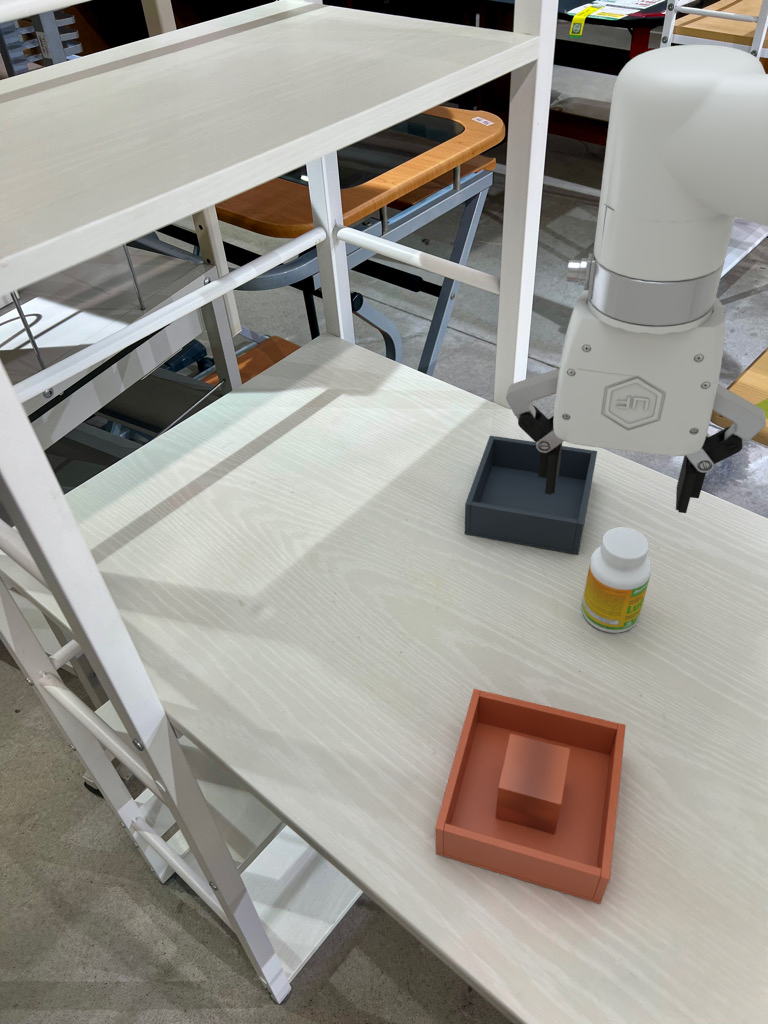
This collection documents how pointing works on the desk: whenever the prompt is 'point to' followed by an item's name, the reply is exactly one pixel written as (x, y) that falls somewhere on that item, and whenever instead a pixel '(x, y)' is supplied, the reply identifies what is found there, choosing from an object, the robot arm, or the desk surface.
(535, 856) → the terracotta bin
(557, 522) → the slate bin
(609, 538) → the supplement bottle
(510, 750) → the terracotta block
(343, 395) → the desk surface
